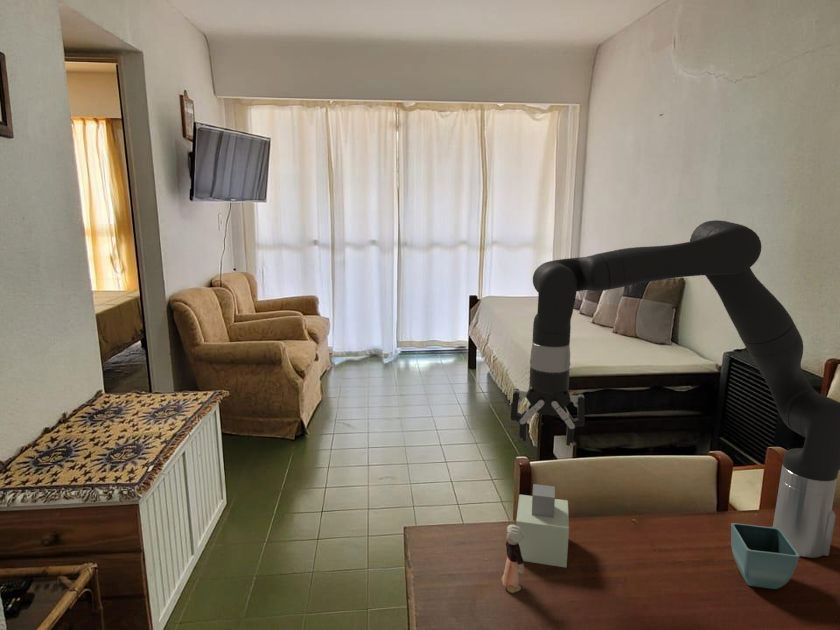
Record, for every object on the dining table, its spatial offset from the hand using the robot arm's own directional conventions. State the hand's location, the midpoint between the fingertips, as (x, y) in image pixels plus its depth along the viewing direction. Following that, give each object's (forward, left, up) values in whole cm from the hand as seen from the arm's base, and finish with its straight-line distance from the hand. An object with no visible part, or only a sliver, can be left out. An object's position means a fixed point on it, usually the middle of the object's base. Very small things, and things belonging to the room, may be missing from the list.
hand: (545, 441), depth 107 cm
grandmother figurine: (+5, +13, -24) cm, 28 cm away
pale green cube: (0, 0, -24) cm, 24 cm away
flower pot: (-41, 0, -24) cm, 48 cm away
